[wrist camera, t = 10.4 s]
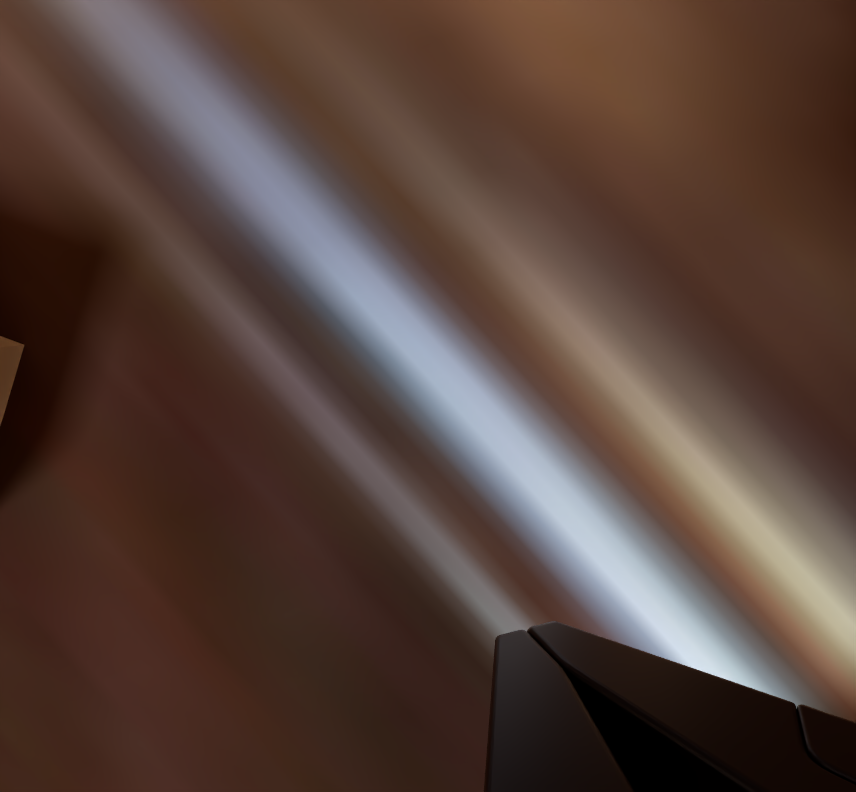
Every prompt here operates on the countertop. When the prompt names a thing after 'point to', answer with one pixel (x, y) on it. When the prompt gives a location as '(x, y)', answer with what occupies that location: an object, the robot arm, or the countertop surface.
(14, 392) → the countertop surface
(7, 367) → the birch block
